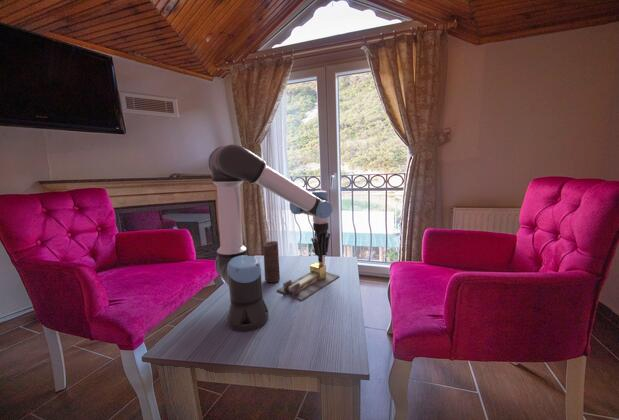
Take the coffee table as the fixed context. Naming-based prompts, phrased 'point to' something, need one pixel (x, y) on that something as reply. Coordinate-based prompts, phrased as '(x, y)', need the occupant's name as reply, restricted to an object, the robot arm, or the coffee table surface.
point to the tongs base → (306, 286)
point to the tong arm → (305, 280)
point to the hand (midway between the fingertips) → (321, 267)
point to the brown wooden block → (271, 261)
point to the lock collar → (318, 270)
